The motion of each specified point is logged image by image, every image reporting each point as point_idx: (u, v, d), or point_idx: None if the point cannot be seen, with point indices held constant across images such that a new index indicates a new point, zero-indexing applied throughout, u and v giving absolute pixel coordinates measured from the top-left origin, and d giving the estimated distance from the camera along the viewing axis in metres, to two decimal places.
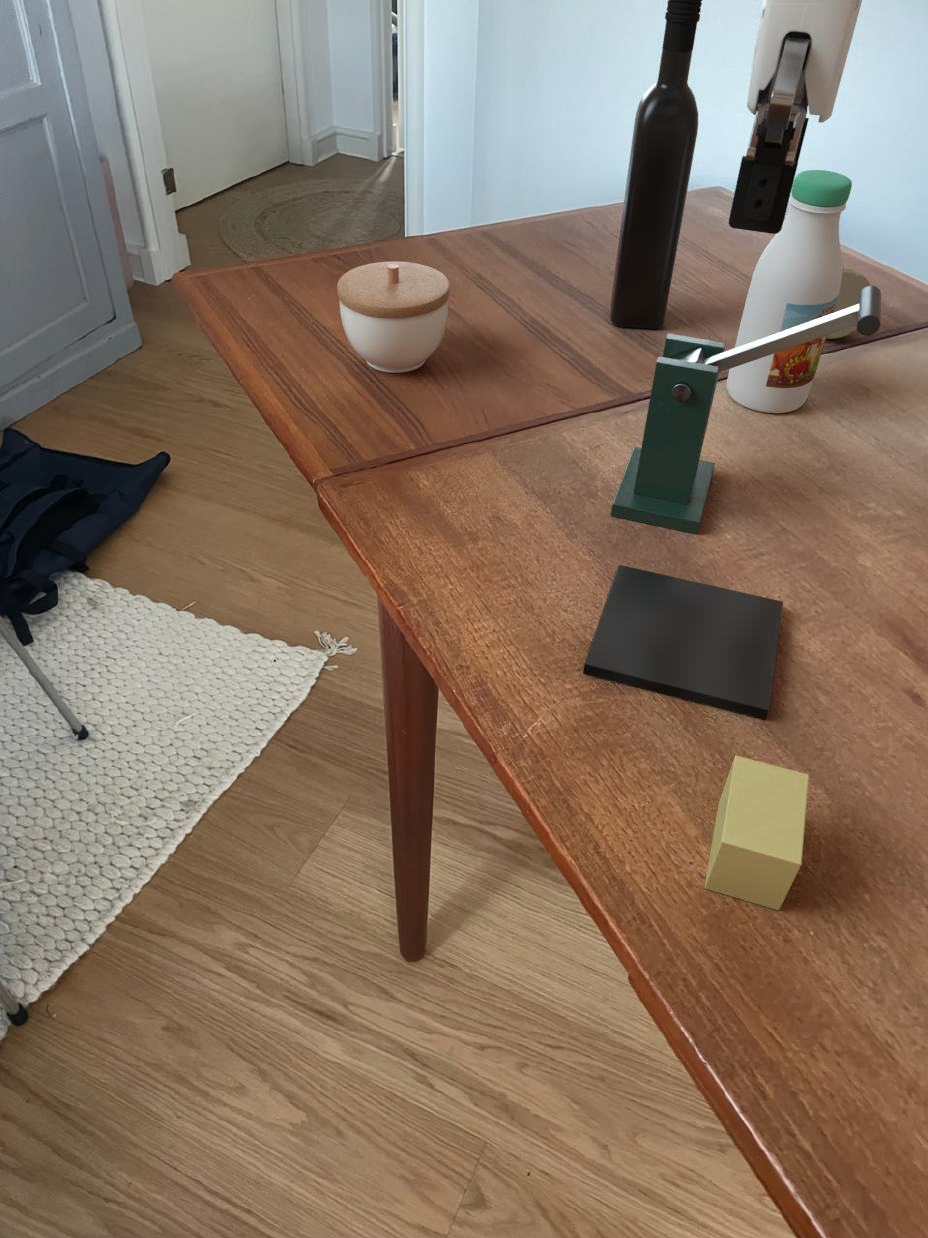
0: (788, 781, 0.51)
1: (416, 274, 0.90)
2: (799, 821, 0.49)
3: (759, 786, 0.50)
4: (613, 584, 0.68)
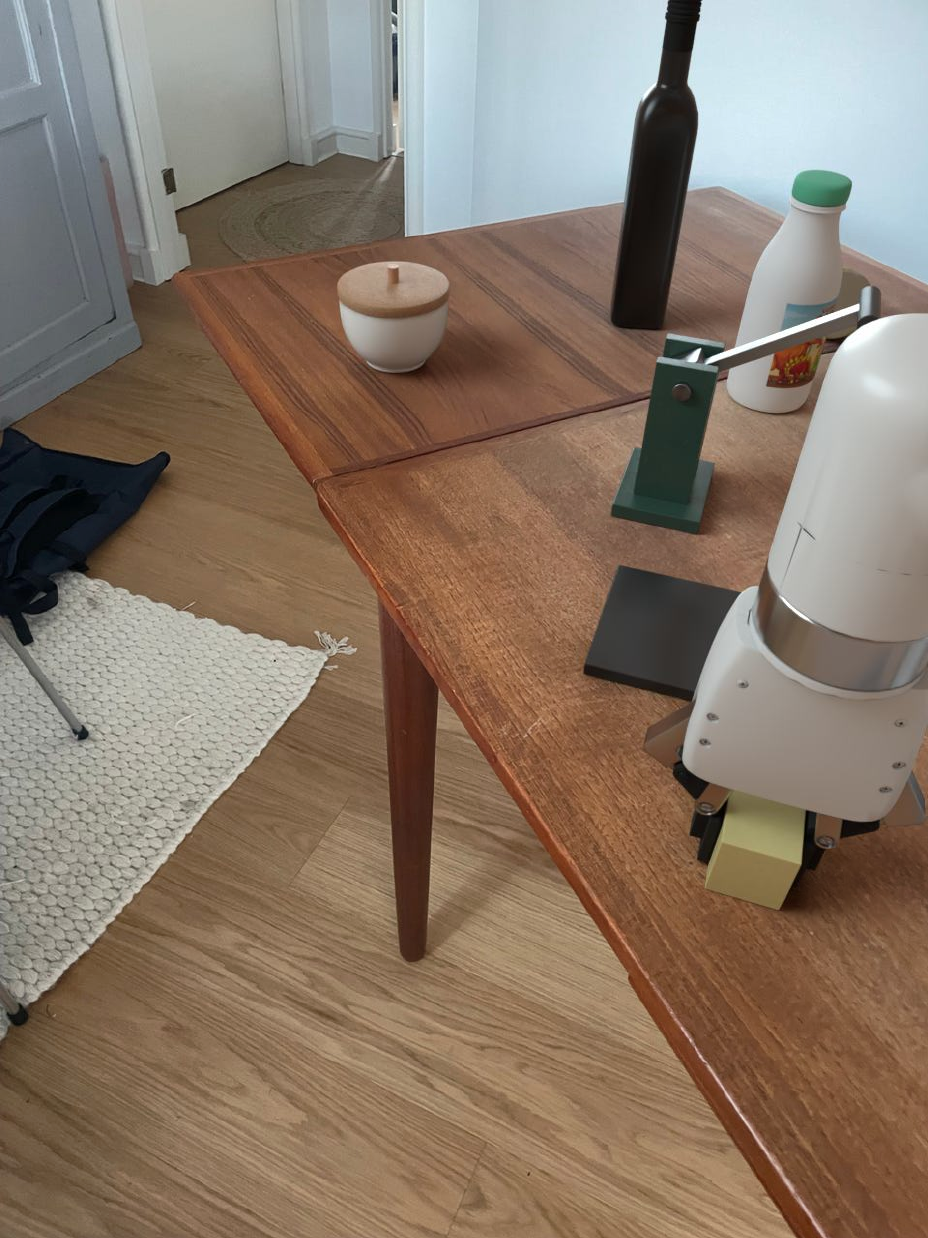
0: None
1: (416, 274, 0.90)
2: (799, 821, 0.49)
3: None
4: (613, 584, 0.68)
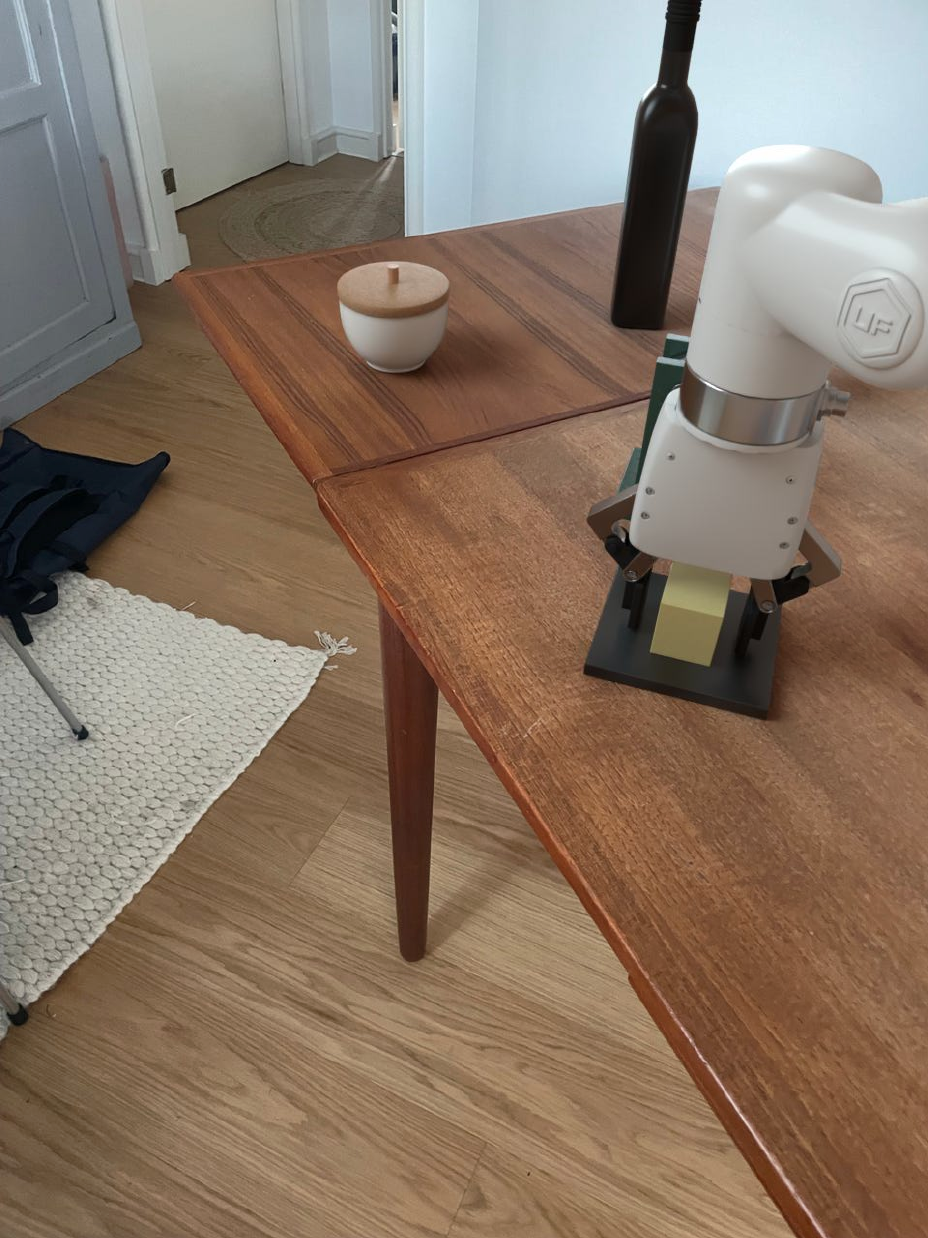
0: None
1: (416, 274, 0.90)
2: (724, 590, 0.61)
3: (694, 567, 0.62)
4: (613, 584, 0.68)
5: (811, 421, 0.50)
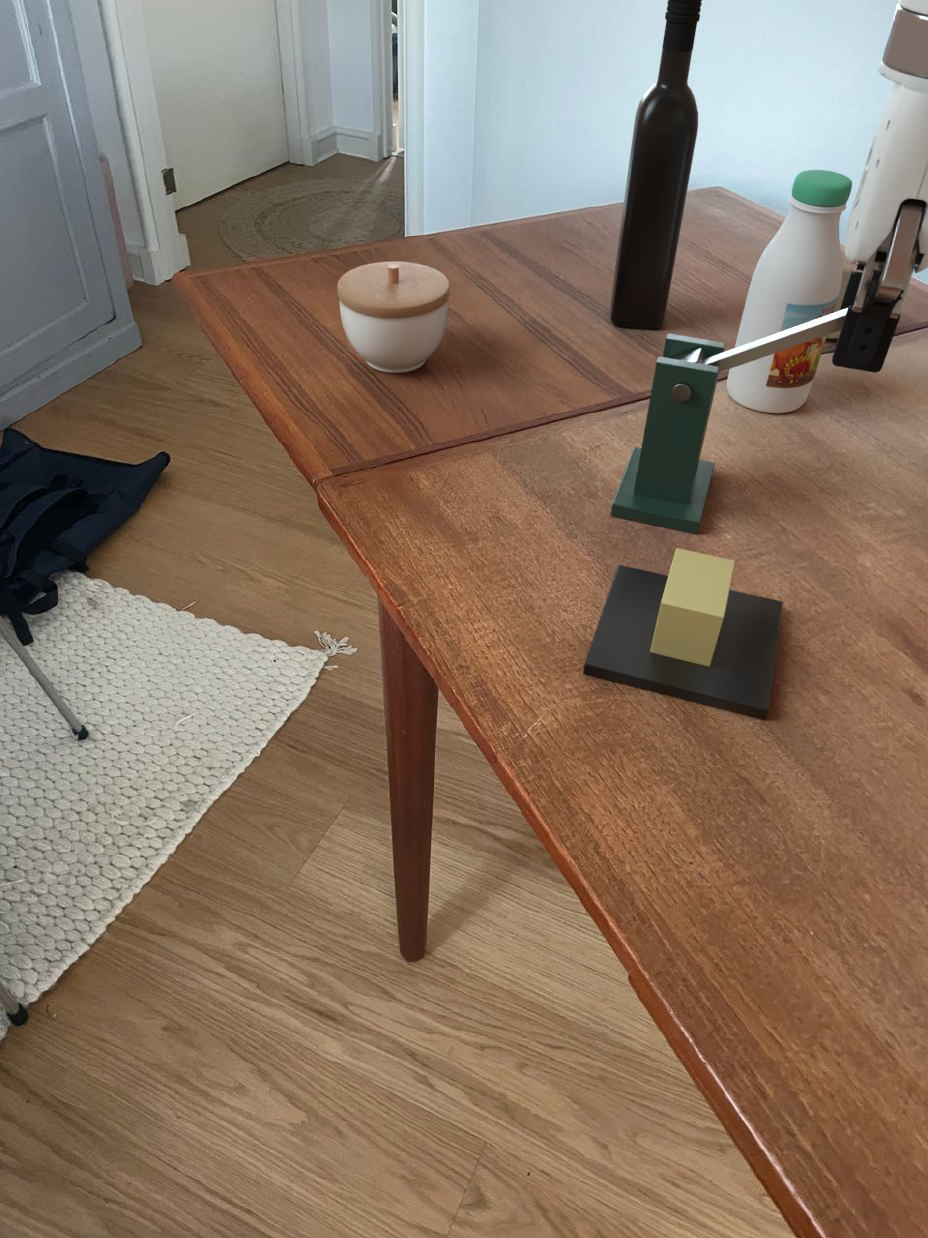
0: (718, 564, 0.62)
1: (416, 274, 0.90)
2: (724, 590, 0.61)
3: (694, 567, 0.62)
4: (613, 584, 0.68)
5: None
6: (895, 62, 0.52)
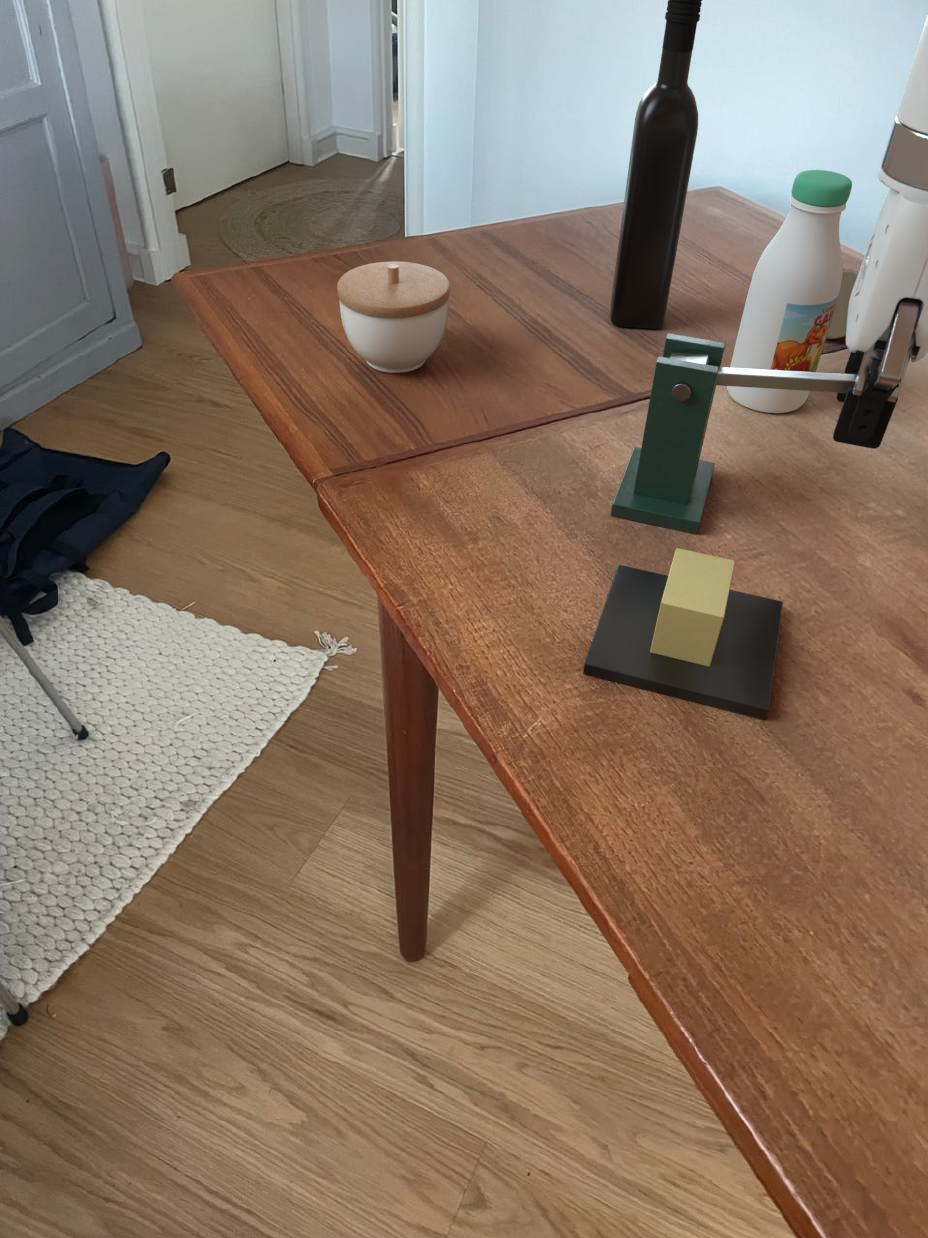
0: (718, 564, 0.62)
1: (416, 274, 0.90)
2: (724, 590, 0.61)
3: (694, 567, 0.62)
4: (613, 584, 0.68)
5: None
6: (893, 172, 0.56)
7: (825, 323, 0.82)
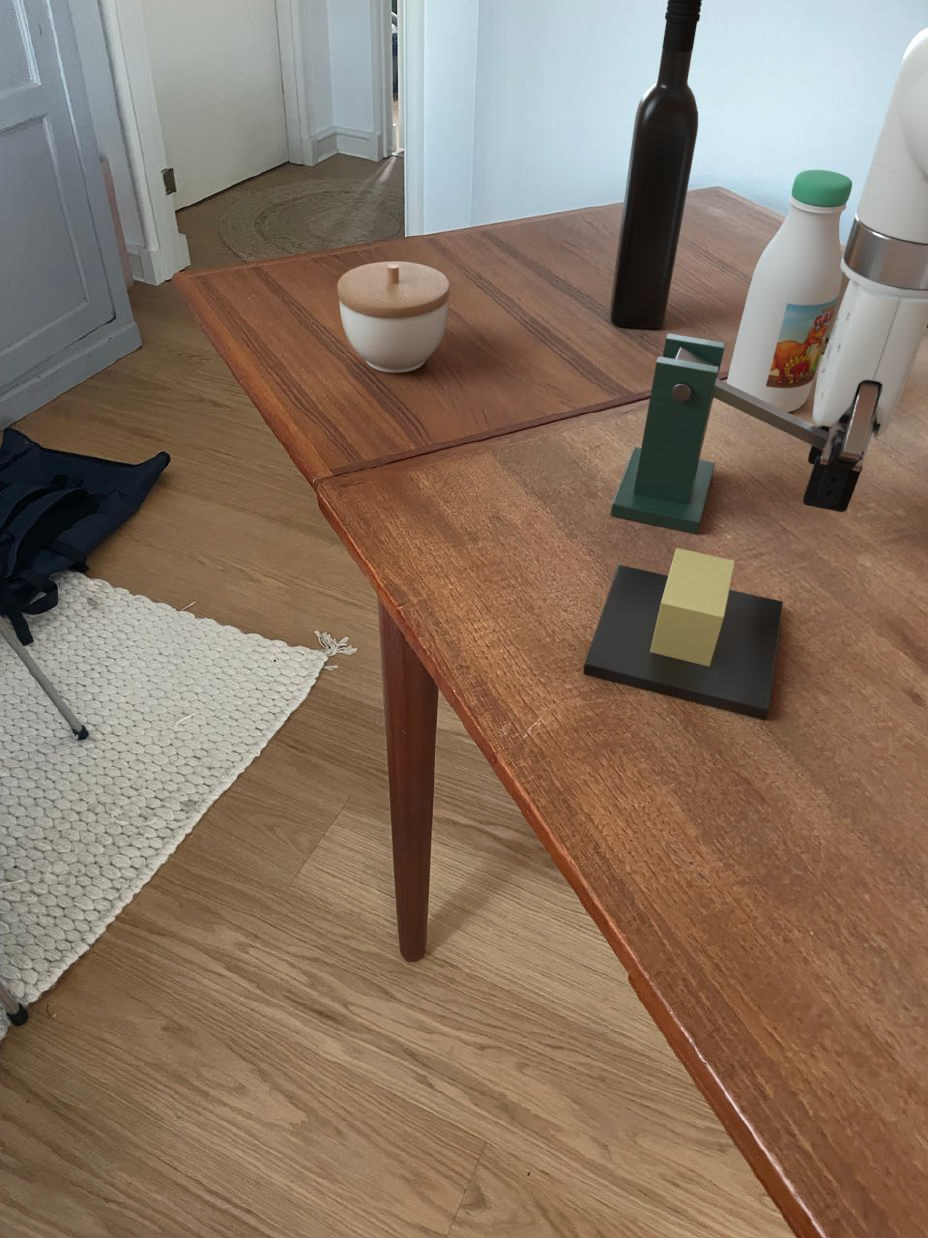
0: (718, 564, 0.62)
1: (416, 274, 0.90)
2: (724, 590, 0.61)
3: (694, 567, 0.62)
4: (613, 584, 0.68)
5: None
6: (853, 265, 0.60)
7: (825, 323, 0.82)
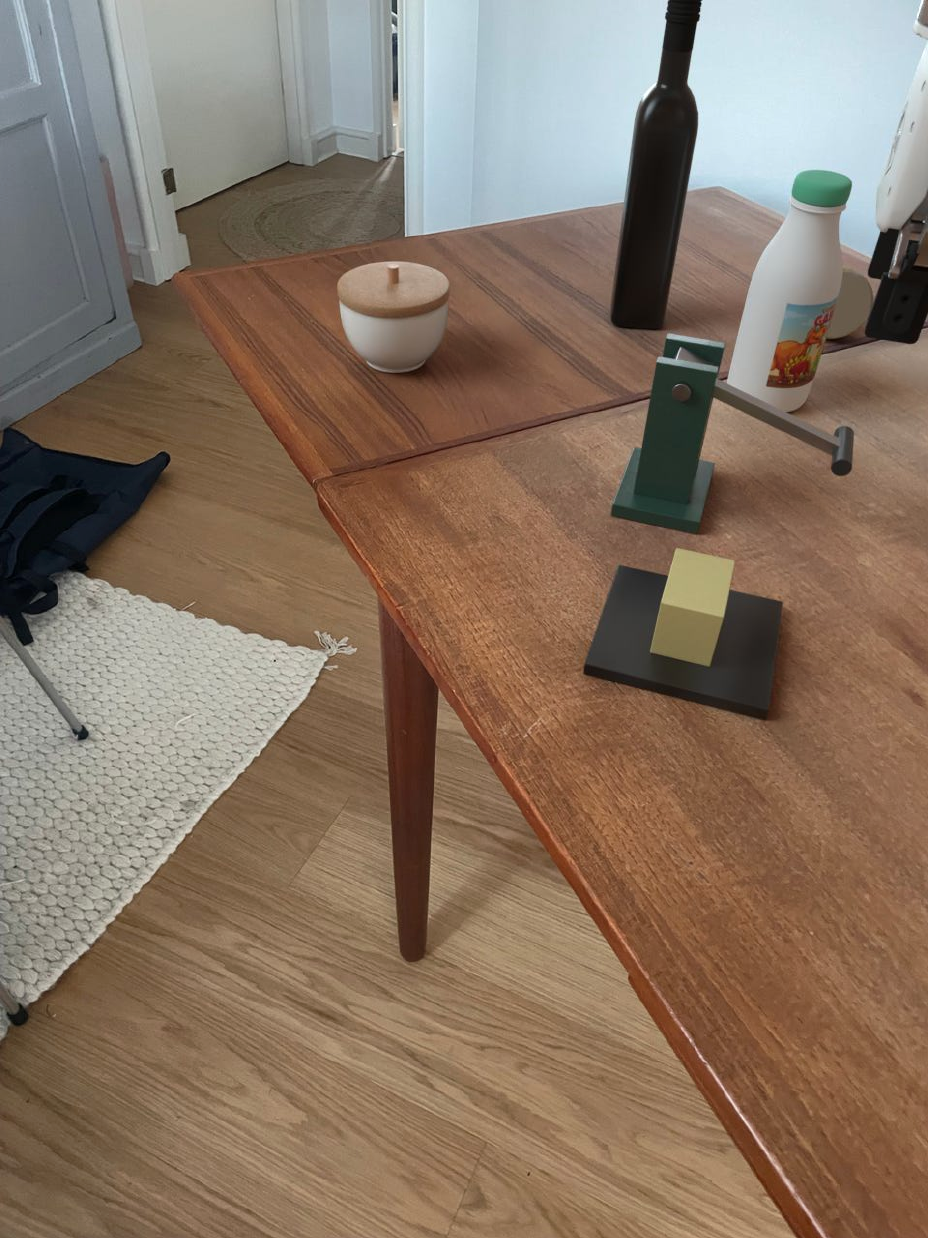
0: (718, 564, 0.62)
1: (416, 274, 0.90)
2: (724, 590, 0.61)
3: (694, 567, 0.62)
4: (613, 584, 0.68)
5: None
6: None
7: (825, 323, 0.82)
